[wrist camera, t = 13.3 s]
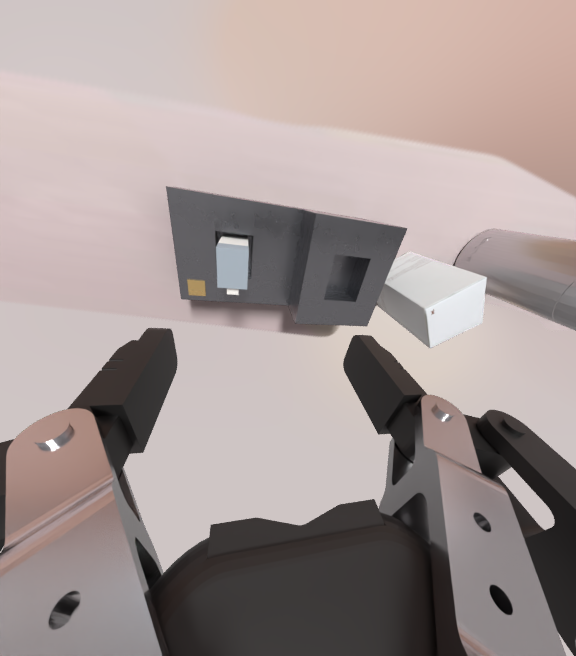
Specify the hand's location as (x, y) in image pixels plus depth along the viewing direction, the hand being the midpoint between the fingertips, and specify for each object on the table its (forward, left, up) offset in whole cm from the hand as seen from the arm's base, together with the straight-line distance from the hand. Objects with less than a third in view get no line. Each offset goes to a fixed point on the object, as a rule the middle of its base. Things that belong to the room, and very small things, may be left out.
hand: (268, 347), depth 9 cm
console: (-3, 0, -23) cm, 23 cm away
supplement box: (-23, -5, -23) cm, 33 cm away
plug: (+2, +2, -22) cm, 22 cm away
